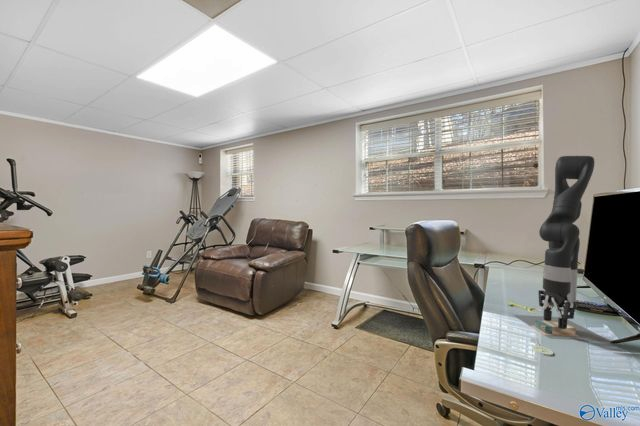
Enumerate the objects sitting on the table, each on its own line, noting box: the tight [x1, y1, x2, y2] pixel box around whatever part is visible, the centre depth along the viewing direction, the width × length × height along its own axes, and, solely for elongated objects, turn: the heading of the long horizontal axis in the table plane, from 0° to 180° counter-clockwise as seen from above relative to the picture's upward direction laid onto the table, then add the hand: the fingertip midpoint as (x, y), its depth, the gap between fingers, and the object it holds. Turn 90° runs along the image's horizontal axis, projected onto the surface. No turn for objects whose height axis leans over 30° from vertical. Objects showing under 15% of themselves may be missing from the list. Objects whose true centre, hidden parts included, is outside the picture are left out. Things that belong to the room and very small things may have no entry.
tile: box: [535, 320, 576, 335], centre depth 97 cm, size 10×5×2 cm, turn 85°
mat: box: [512, 314, 613, 343], centre depth 100 cm, size 20×20×1 cm
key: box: [507, 301, 542, 315], centre depth 118 cm, size 7×12×2 cm, turn 58°
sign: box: [531, 340, 554, 357], centre depth 88 cm, size 5×1×15 cm
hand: (554, 324), depth 97 cm, fingers open, 6 cm apart
